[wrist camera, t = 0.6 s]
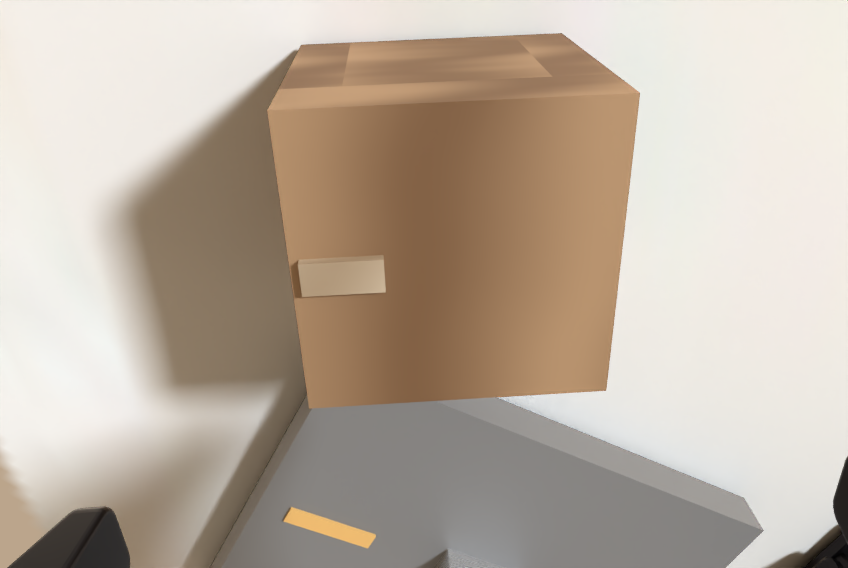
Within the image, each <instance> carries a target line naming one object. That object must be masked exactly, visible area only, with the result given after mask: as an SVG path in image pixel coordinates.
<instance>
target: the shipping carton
mask: <svg viewBox="0 0 848 568" xmlns="http://www.w3.org/2000/svg"><path fill="white" fill-rule="evenodd" d="M639 97H640V93H639V92H638V91H637V90H635V89H634V88H633V87H632V86H630V85H629V84H628V83H626V82H625V81H624V80H622V79H621V78H620V77H618V76H617V75H616V74H614V73H613V72H612V71H611V70H609V69H608V68H607V67H605V66H604V65H603V64H601V63H600V62H599V61H597V60H596V59H595V58H593V57H592V56H591V55H589V54H588V53H587V52H586V51H584V50H583V49H582V48H580V47H579V46H578V45H576V44H575V43H574V42H572V41H571V40H570V39H568V38H567V37H566V36H564V35H563V34H562V33H558V34H536V35H513V36H491V37H468V38H446V39H423V40H400V41H378V42H355V43H333V44H310V45H301V46H300V48H299V50H298V52H297V54H296V56H295V58H294V60H293V62H292V64H291V66H290V68H289V69H288V71H287V73H286V75H285V77H284V79H283V81H282V83H281V85H280V87H279V89H278V91H277V93H276V94H275V96H274V98H273V100H272V102H271V104H270V106H269V108H268V110H267V113H268V120H269V127H270V134H271V142H272V149H273V156H274V163H275V170H276V177H277V184H278V191H279V198H280V205H281V213H282V220H283V227H284V234H285V241H286V248H287V255H288V262H289V269H290V276H291V284H292V291H293V298H294V305H295V312H296V319H297V326H298V333H299V340H300V347H301V355H302V362H303V369H304V376H305V383H306V390H307V397H308V404H309V409H312V408H328V407H344V406H361V405H377V404H394V403H410V402H427V401H443V400H459V399H476V398H492V397H509V396H525V395H541V394H558V393H574V392H591V391H606V387H607V378H608V370H609V361H610V352H611V343H612V335H613V326H614V317H615V308H616V299H617V291H618V282H619V273H620V264H621V255H622V247H623V238H624V229H625V220H626V212H627V203H628V194H629V185H630V176H631V168H632V159H633V150H634V141H635V132H636V124H637V115H638V106H639Z"/></svg>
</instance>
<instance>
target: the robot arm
mask: <svg viewBox="0 0 848 568" xmlns="http://www.w3.org/2000/svg"><path fill="white" fill-rule="evenodd" d="M833 508H834V514H835V517H836V520H837V522H838V524H839V527H840V529H841V531H842V534H841V535H840V536H839V537H838V538H837V539H836V540H834V541H833V542H832V543H831V544H830V545H829V546H828V547H827V548H826V549H825V550H823V551H822V552H821V553H820V554H819V555H818V556H817V557H816V558H815V559H814V560H812V561H811V562H810V563H809V564H808V565H807V566H806V567H805V568H848V457H847V458H846V460H845V463H844V467H843V470H842V473H841V476H840V479H839V483H838V486H837V489H836V492H835V495H834V500H833ZM8 568H130V556H129V552H128V548H127V546H126V543H125V540H124V537H123V535H122V532H121V529H120V526H119V523H118V521H117V518H116V515H115V513H114V511H113V510H112V509H110V508H109V507H92V508H80V509H76V510H74V511H72V512H71V513H69V514H68V515H67V516H66V517H65V518H63V519H62V520H61V521H60V522H59V523H58V524H57V525H55V526H54V527H53V528H52V529H51V530H50V531H49V532H48V533H46V534H45V535H44V536H43V537H42V538H41V539H40V540H38V541H37V542H36V543H35V544H34V545H33V546H32V547H30V549H28V550H27V551H26V552H25V553H24V554H22V555H21V556H20V557H19V558H18V559H17V560H16V561H14V562H13V563H12V564H11V565H10V566H9V567H8Z"/></svg>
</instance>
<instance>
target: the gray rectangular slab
mask: <svg viewBox="0 0 848 568" xmlns="http://www.w3.org/2000/svg"><path fill="white" fill-rule="evenodd" d="M763 531H764V530H763V529H762V527H761V525H760V524H759V522H758V520H757V519H756V517H755V516H754V514H753V512H752V511H751V509H750V507H749V506H748V504H747V502H746V501H745V499H744V498H743V497H740V496H738V495H735V494H733V493H730V492H728V491H725V490H723V489H720V488H718V487H716V486H713V485H711V484H708V483H706V482H703V481H701V480H698V479H696V478H693V477H691V476H688V475H686V474H684V473H681V472H679V471H676V470H674V469H671V468H669V467H666V466H664V465H661V464H659V463H656V462H654V461H652V460H649V459H647V458H644V457H642V456H639V455H637V454H634V453H632V452H629V451H627V450H624V449H622V448H619V447H617V446H615V445H612V444H610V443H607V442H605V441H602V440H600V439H597V438H595V437H592V436H590V435H587V434H585V433H583V432H580V431H578V430H575V429H573V428H570V427H568V426H565V425H563V424H560V423H558V422H555V421H553V420H551V419H548V418H546V417H543V416H541V415H538V414H536V413H533V412H531V411H528V410H526V409H523V408H521V407H518V406H516V405H514V404H511V403H509V402H506V401H504V400H501V399H499V398H496V397H492V398H476V399H459V400H443V401H427V402H410V403H394V404H377V405H361V406H344V407H328V408H312V409H309V404H308V397H307V395H306V397H305V399H304V400H303V402H302V404H301V406H300V408H299V409H298V411H297V413H296V415H295V416H294V418H293V420H292V422H291V424H290V425H289V427H288V429H287V431H286V433H285V434H284V436H283V438H282V440H281V442H280V443H279V445H278V447H277V449H276V450H275V452H274V454H273V456H272V458H271V459H270V461H269V463H268V465H267V467H266V468H265V470H264V472H263V474H262V476H261V477H260V479H259V481H258V483H257V484H256V486H255V488H254V490H253V492H252V493H251V495H250V497H249V499H248V501H247V502H246V504H245V506H244V508H243V510H242V511H241V513H240V515H239V517H238V518H237V520H236V522H235V524H234V526H233V527H232V529H231V531H230V533H229V535H228V536H227V538H226V540H225V542H224V544H223V545H222V547H221V549H220V551H219V552H218V554H217V556H216V558H215V560H214V561H213V563H212V565H211V567H210V568H433V567H434V566H435V565H436V563H437V562H438V561H439V559H440V558H441V557H442V556H443V554H444V553H445V552H446V550H447V549H450V550H453V551H456V552H459V553H462V554H465V555H468V556H471V557H474V558H477V559H480V560H483V561H486V562H489V563H492V564H495V565H498V566H501V567H504V568H726V567H727V566H728V565H729V564H730V563H731V562H732V561H733V560H734V559H735V558H736V557H737V556H738V555H739V554H740V553H741V552H742V551H743V550H744V549H745V548H746V547H747V546H748V545H749V544H750V543H751V542H752V541H753V540H754V539H755V538H756V537H758V536H759V535H760V534H761V533H762V532H763Z"/></svg>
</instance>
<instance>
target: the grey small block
mask: <svg viewBox="0 0 848 568" xmlns="http://www.w3.org/2000/svg"><path fill="white" fill-rule="evenodd" d="M433 568H504V567H501V566H498V565H495V564H492V563H489V562H486V561H483V560H480V559H477V558H474V557H471V556H468V555H465V554H462V553H459V552H456V551H453V550H450V549H447V550H446V552H445V553H444V554H443V556H442V557H441V558H440V559H439V561H438V562H437V563H436V565H435V566H434V567H433Z"/></svg>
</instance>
